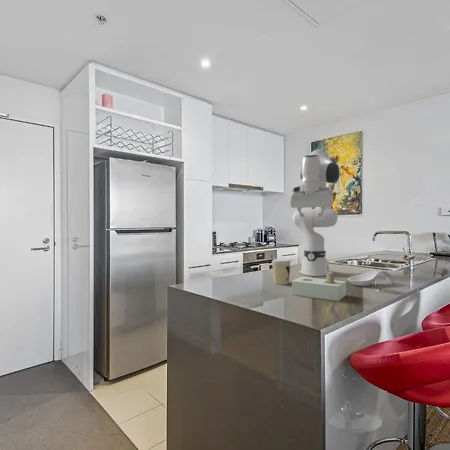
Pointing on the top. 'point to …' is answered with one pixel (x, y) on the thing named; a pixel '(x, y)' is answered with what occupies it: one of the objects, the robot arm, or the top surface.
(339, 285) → the hole block
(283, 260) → the coffee cup
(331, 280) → the peg
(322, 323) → the top surface
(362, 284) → the spoon rest
